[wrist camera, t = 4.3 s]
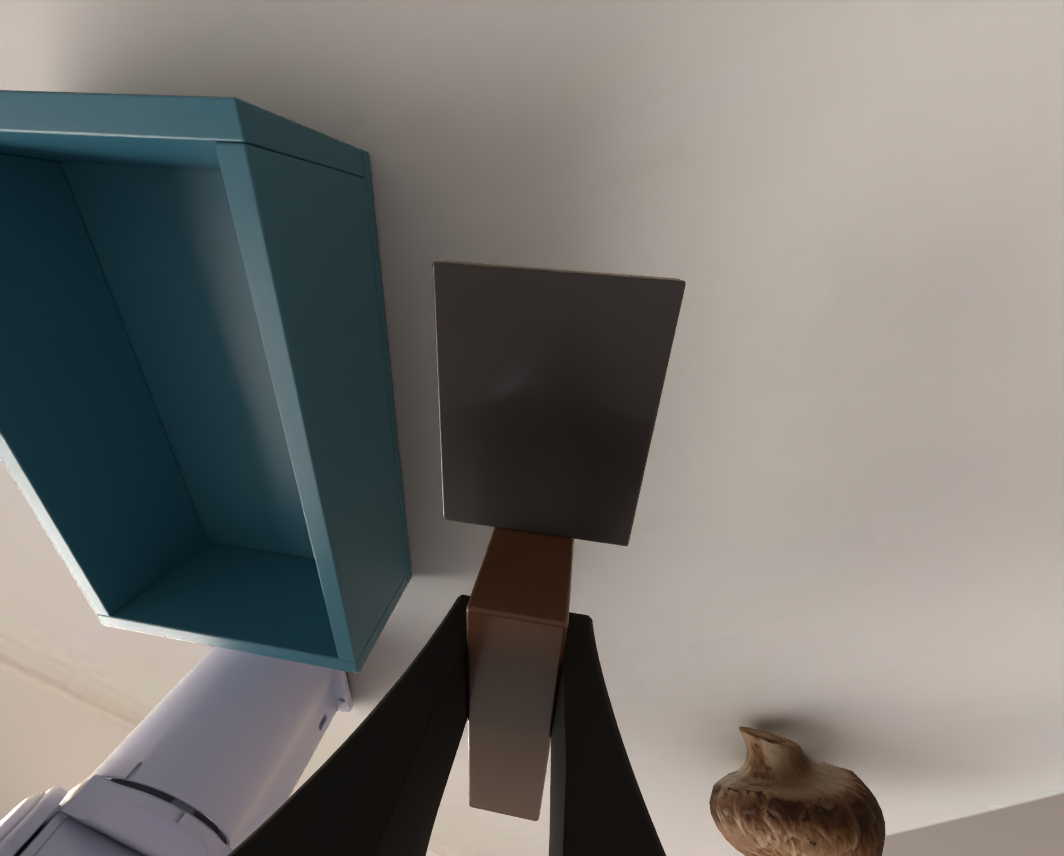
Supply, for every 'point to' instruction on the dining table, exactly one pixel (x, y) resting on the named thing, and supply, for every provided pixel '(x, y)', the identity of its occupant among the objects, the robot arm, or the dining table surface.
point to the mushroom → (795, 804)
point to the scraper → (539, 476)
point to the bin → (201, 370)
